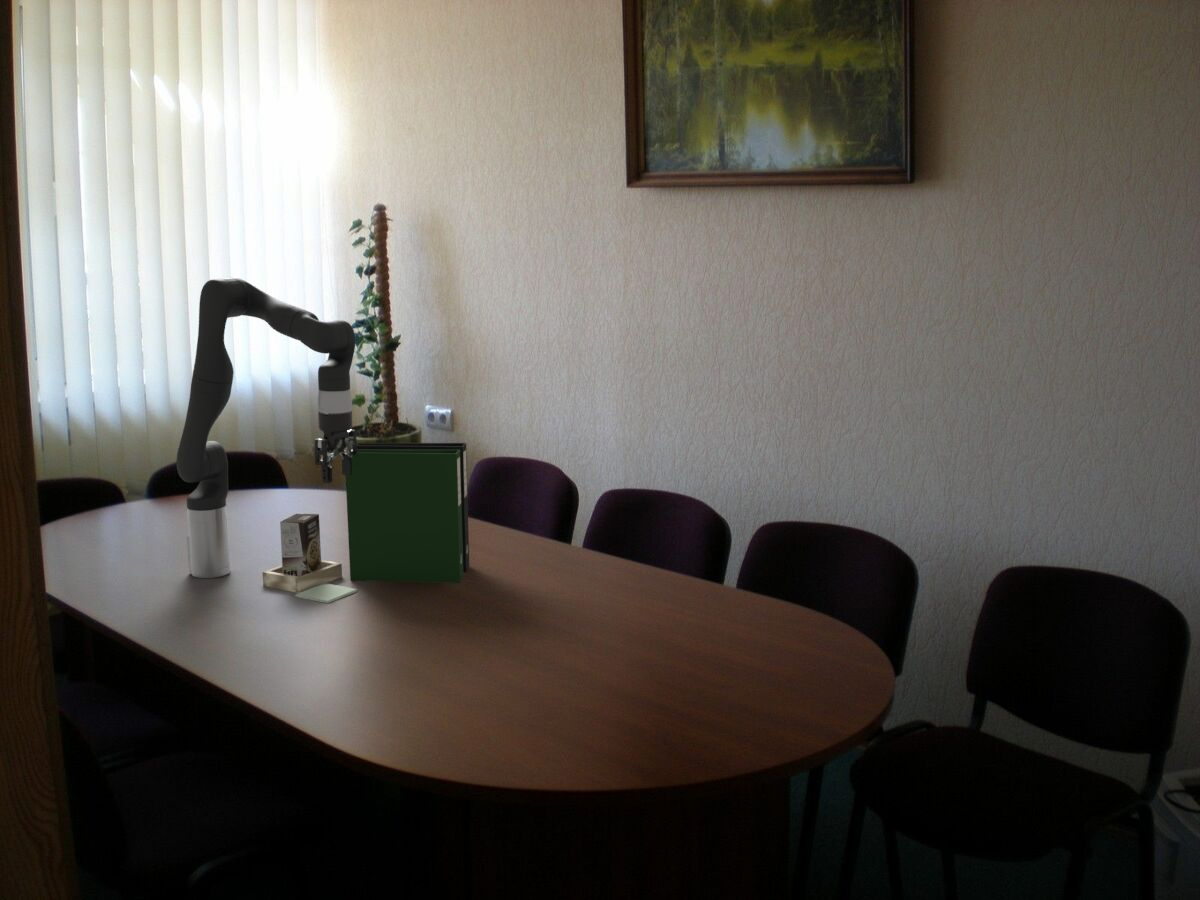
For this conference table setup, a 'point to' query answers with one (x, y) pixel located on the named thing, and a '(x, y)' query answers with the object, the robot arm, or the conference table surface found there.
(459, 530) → the binder
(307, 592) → the mat
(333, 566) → the pocket frame
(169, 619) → the conference table surface
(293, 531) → the coffee box
